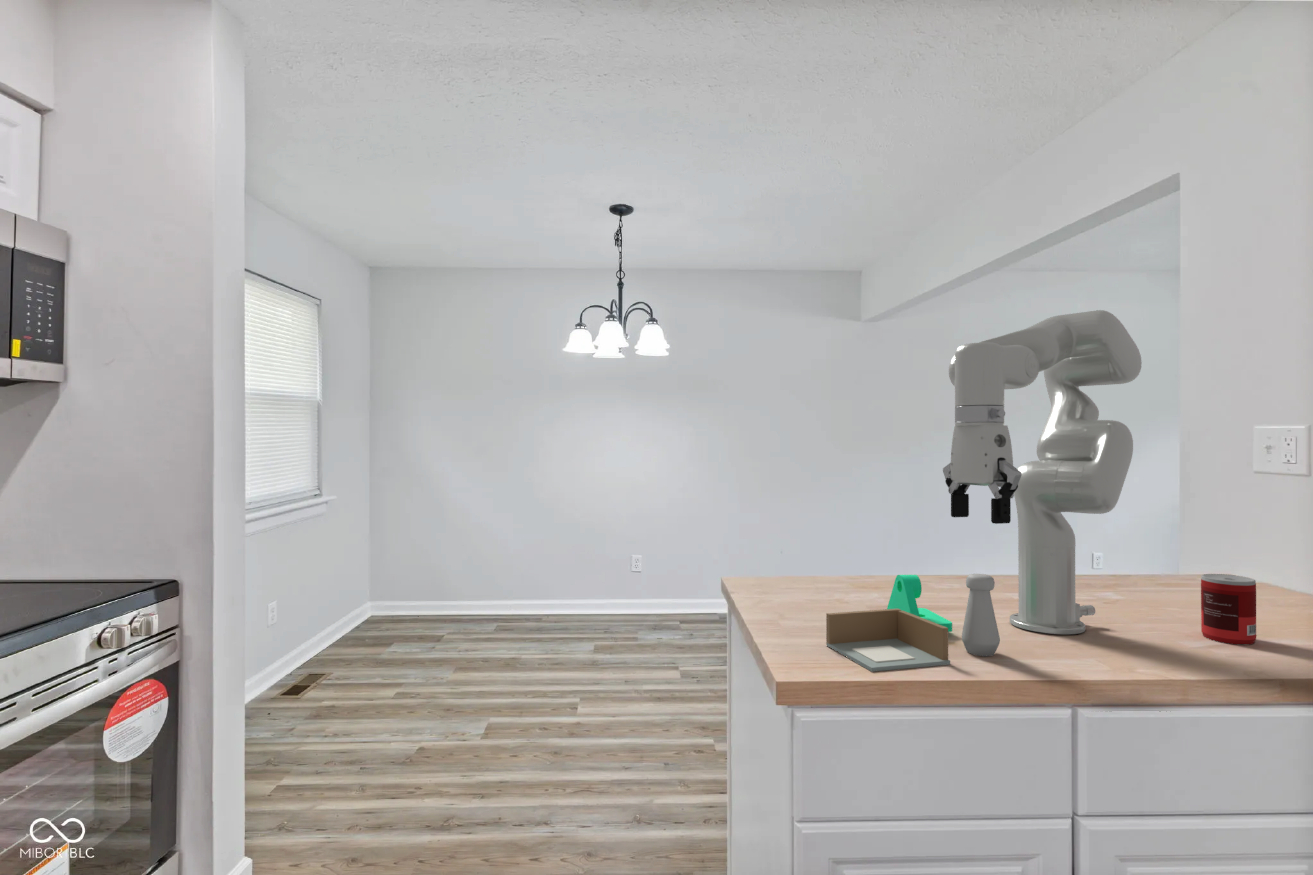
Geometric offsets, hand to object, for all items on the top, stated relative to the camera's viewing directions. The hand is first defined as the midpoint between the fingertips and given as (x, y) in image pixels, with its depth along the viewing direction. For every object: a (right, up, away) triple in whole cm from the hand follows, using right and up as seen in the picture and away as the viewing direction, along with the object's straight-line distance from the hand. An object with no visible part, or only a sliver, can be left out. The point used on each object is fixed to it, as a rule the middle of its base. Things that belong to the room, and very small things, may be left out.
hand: (979, 519), depth 116 cm
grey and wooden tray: (-16, -22, -1) cm, 27 cm away
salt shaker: (0, -22, 0) cm, 22 cm away
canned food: (+49, -23, +8) cm, 54 cm away
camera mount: (-4, -23, +15) cm, 28 cm away
